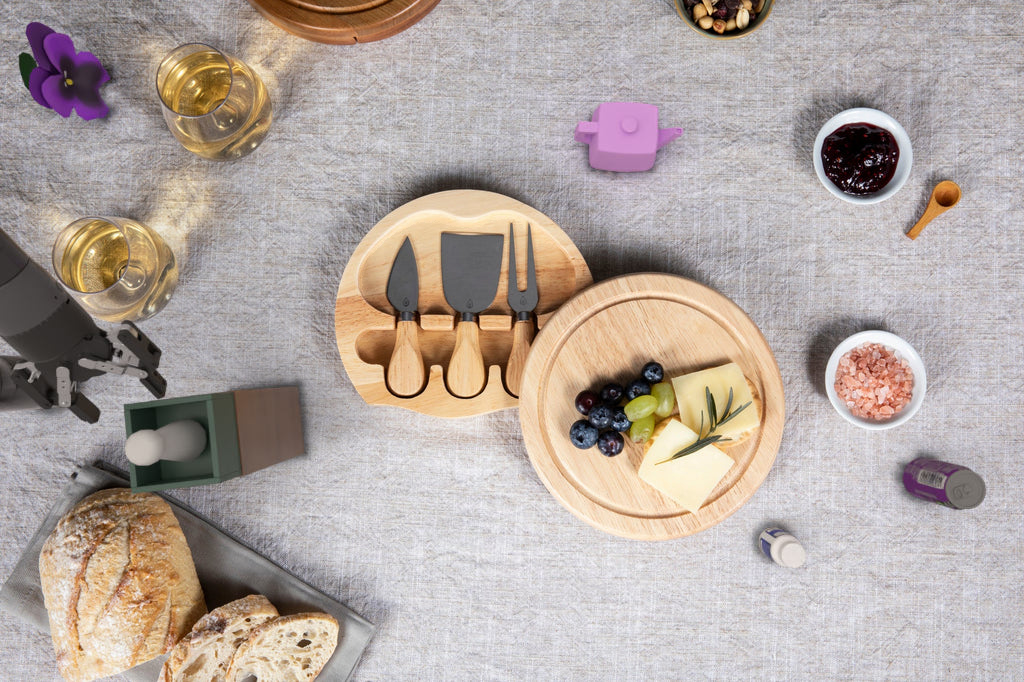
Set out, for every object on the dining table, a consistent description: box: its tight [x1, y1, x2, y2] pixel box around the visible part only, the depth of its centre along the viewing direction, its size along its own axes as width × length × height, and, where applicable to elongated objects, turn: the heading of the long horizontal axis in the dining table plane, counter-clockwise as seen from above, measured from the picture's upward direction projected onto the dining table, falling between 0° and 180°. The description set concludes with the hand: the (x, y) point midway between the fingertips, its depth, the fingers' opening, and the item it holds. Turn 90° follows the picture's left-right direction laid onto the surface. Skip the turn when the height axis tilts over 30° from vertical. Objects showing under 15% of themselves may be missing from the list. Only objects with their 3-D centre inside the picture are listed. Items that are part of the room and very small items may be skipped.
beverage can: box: [902, 457, 987, 511], centre depth 110 cm, size 7×7×12 cm
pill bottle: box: [758, 526, 807, 569], centre depth 112 cm, size 5×5×9 cm
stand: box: [151, 385, 306, 478], centre depth 105 cm, size 12×12×26 cm
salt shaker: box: [124, 419, 207, 465], centre depth 85 cm, size 6×6×13 cm
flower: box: [18, 21, 111, 122], centre depth 117 cm, size 15×15×14 cm
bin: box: [123, 392, 242, 495], centre depth 89 cm, size 12×12×7 cm
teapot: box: [573, 101, 684, 173], centre depth 115 cm, size 18×10×10 cm, turn 87°
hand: (130, 405), depth 80 cm, fingers open, 8 cm apart
